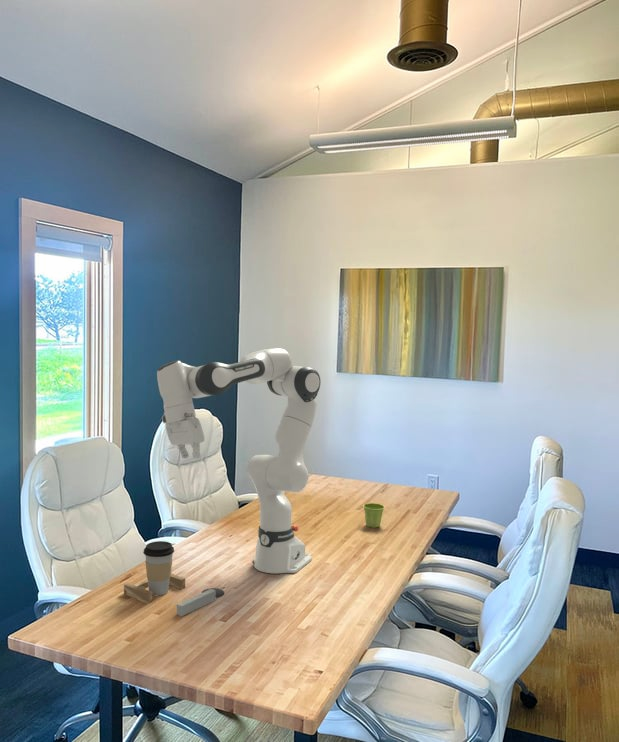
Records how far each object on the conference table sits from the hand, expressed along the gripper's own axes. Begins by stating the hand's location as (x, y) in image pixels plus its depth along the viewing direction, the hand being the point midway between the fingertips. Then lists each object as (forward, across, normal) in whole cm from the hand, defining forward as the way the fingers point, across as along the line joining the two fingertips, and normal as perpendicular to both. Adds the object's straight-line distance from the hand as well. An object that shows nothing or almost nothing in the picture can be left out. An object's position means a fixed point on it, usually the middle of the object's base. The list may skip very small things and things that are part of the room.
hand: (191, 458), depth 190 cm
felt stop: (+43, 0, +9) cm, 44 cm away
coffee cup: (+40, +16, +15) cm, 45 cm away
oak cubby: (+39, +17, +16) cm, 45 cm away
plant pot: (+56, +37, -87) cm, 110 cm away
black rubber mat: (+44, +7, +1) cm, 44 cm away
